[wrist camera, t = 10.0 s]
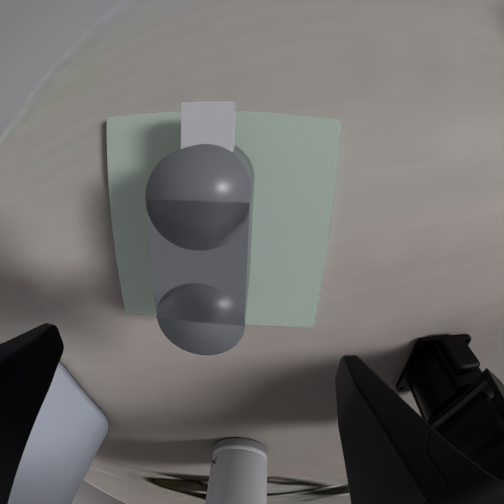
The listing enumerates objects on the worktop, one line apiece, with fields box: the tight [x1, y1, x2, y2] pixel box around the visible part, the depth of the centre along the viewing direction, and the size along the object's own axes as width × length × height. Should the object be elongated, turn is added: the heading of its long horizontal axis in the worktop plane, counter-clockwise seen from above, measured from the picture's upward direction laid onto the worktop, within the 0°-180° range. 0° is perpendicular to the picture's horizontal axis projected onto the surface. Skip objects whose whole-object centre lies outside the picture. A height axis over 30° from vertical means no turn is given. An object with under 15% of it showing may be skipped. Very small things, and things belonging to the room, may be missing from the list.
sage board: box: [107, 111, 341, 327], centre depth 19 cm, size 14×14×1 cm
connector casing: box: [145, 102, 254, 355], centre depth 15 cm, size 12×4×6 cm, turn 177°
